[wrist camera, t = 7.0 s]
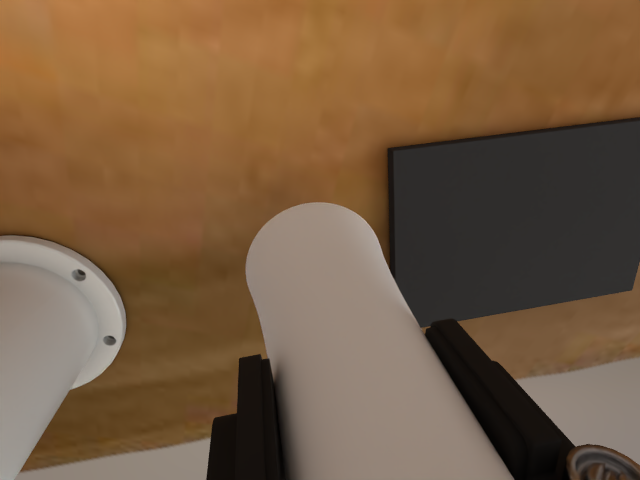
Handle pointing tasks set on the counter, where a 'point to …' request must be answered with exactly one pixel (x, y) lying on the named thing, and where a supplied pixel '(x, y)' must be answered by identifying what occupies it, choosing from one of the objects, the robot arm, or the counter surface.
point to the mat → (515, 219)
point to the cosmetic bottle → (355, 360)
